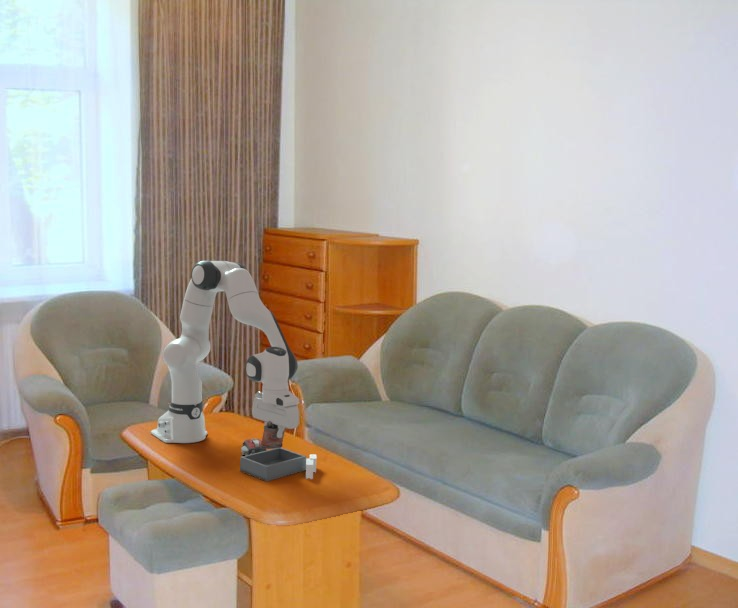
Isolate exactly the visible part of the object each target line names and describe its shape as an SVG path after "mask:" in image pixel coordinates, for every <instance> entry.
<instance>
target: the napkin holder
mask: <svg viewBox="0 0 738 608" xmlns="http://www.w3.org/2000/svg"><path fill="white" fill-rule="evenodd" d="M317 458H318V457H317V454H314V453H313V454H309V458H307V457H306V471H305V480H314V473H313V472H315V473H317V463H318V462H317V461H318V460H317ZM308 478H310V479H308Z"/></svg>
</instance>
